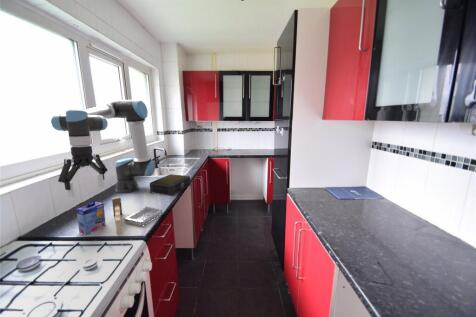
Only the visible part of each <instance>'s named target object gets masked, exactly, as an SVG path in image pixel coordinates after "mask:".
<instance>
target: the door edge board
mask: <svg viewBox="0 0 476 317" xmlns="http://www.w3.org/2000/svg"><path fill="white" fill-rule="evenodd" d="M111 201H112V203H111V204H112V209H113V211H112V212H113V217H114V218H115V221H114V222H115V228H116V235H117V234H118V235H122V234H123V230H122V229H123V228H121V227H122V219H121V218H122V217H121V216H123V208H122V207H123V206H122V197H121V196H114V197H112V198H111ZM121 233H122V234H121Z"/></svg>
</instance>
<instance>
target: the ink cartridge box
mask: <svg viewBox="0 0 476 317" xmlns="http://www.w3.org/2000/svg"><path fill="white" fill-rule="evenodd" d="M75 210H76V217H77V226H78V231H79V234H81V233H82V234H81V235H84V234H86V235H85V236H88V235H90V234H92V233H94V232H96V231H98V230H100V229H102V228H104V227H106V226H107V225H106V224H107V223H106V214H105V203H104V202H100V201H96V199H94V200H92V201H91V202H90V201H89V202H87V205H83V206H80V207H78V208H76V209H75ZM91 232H92V233H91ZM89 233H90V234H89ZM87 234H88V235H87Z"/></svg>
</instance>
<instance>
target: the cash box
mask: <svg viewBox="0 0 476 317" xmlns="http://www.w3.org/2000/svg"><path fill="white" fill-rule="evenodd" d="M190 186H191V176H190V175H181V174H174V173H173V174H167V175H165V176H163V177H160V178H158V179H156V180H153V181H151V182H149V193H152V194H158V195H164V196H175V195H176V194H178V193H180V192H181V191H183V190H185V189H187V188H188V187H190Z"/></svg>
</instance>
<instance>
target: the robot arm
mask: <svg viewBox="0 0 476 317" xmlns="http://www.w3.org/2000/svg"><path fill="white" fill-rule="evenodd" d="M148 112H149V111H148V108H147V106H146V103H145V102H144V101H142V100H139V99H116V100H111V101H107V102H104V103H101V104H100V105H98V106H95V107H91V108H88V109H84V110H83V109H67V110H65V114H55V115H54V116H52V118H51V119H50V124H51V126H52V128H53V129H55V131H61V132H68V139H69V145H70V153H71V156H72V158H64V160H63V166H62V169H61V171H60V175H59V176H58V180H57V182H58V183H63V184H64V189H65V190H66V191H67V196H68V197H70V198H75V190H74V184H73V181H72V180H73V179H74V177H75V175H76V174H77V172H78V170H79V169H80V168H84V167H90V168H92V169H93V170H94V171H95V172H97V173H96V175H97V176H96V177H97V183H98V188H105V183H104V182H105V174H106V173H107V172H108V168H107V167H106V165H105V163H104V162H103V161H102V159H101V156H100V154H97V153H93V148H92V147H93V146H92V139H91V132H102V131H105V130H106V129H107V128H108V126H109V124H108V120H109V119H117V118H118V119H125V122H127V123H128V124H129V130H130V135H131V141H132V145H133V151H134V158H132V157H128V158H123V159H117V161H116V162H115V173H116V174H115V175H116V184H115V193H118V194H125V193H132V192H135V191H137V190H139V184H138V182H137V179H136V177H151V176H153V175H154V173H155V172H156V171H155V170H156V162H155V161H154V160H152V156H150V155H149V151H148V146H147V138H146V132H145V131H146V130H145V126H144V125H145V124H144V123H145V121H146V119H147V117H148ZM107 119H108V120H107ZM94 161H95V162H94Z"/></svg>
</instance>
